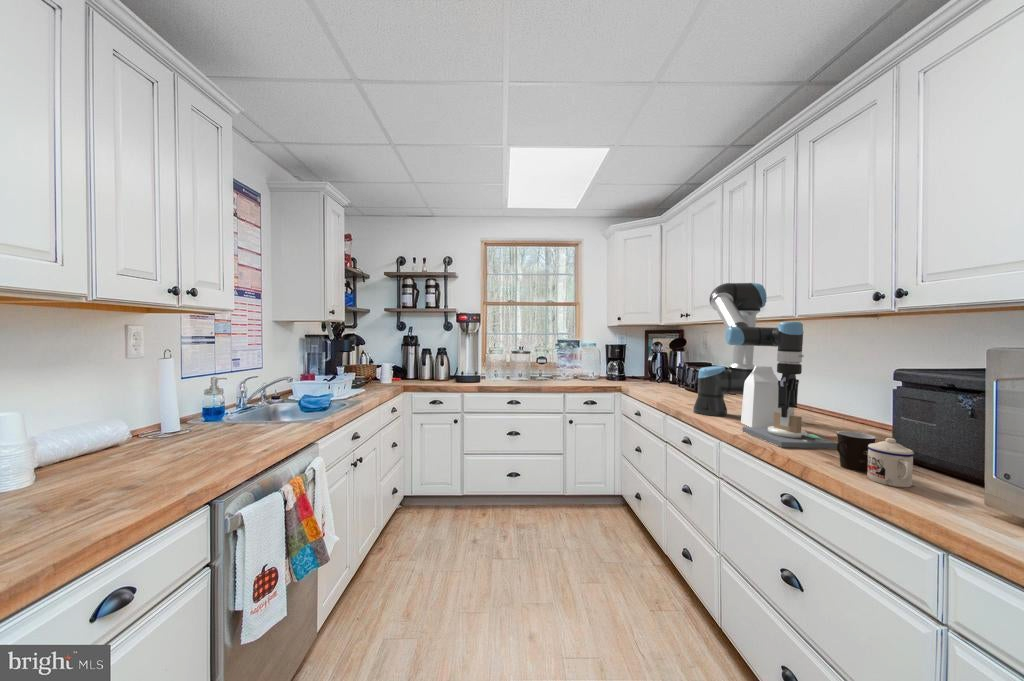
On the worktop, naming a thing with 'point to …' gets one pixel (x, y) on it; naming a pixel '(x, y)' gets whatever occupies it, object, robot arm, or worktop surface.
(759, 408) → the milk
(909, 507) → the worktop surface
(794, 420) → the dial
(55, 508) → the worktop surface
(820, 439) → the dial board
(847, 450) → the coffee mug
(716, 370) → the robot arm
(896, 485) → the teacup with lid
